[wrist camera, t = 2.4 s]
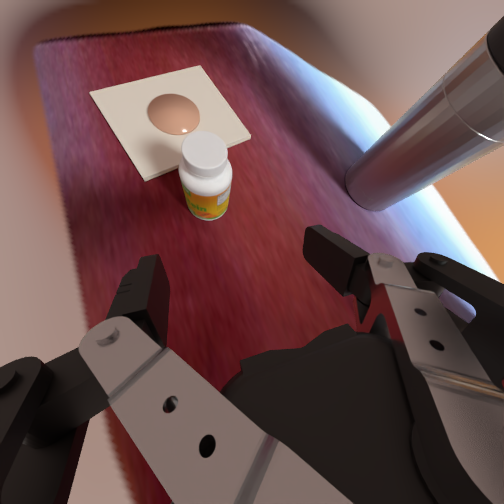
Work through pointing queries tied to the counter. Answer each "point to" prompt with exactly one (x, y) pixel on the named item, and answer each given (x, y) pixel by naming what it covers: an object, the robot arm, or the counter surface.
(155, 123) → the coaster
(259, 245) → the counter surface
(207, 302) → the counter surface
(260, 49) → the counter surface
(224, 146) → the supplement bottle
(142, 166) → the mat
